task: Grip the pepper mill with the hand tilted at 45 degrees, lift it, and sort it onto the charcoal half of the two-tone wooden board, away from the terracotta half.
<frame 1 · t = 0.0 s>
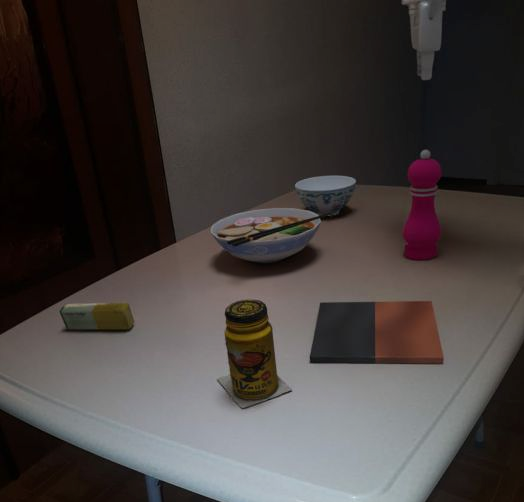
hand: (424, 77, 104), 31 cm above the table, tool pointing down, fingers open, 8 cm apart
ramen bowl: (268, 258, 118), on the table
sorting board: (374, 332, 84), on the table
pepper mill: (420, 255, 111), on the table
medication box: (100, 329, 95), on the table
condiment: (253, 386, 75), on the table
chinaware: (326, 214, 142), on the table
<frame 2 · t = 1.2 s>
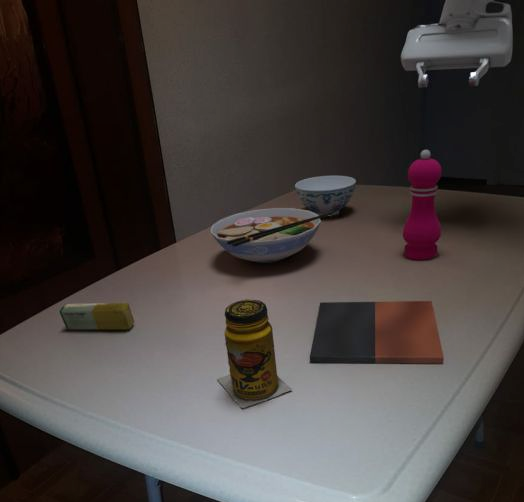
hand: (447, 84, 105), 29 cm above the table, tool tilted 45°, fingers open, 8 cm apart
nothing on the table moved.
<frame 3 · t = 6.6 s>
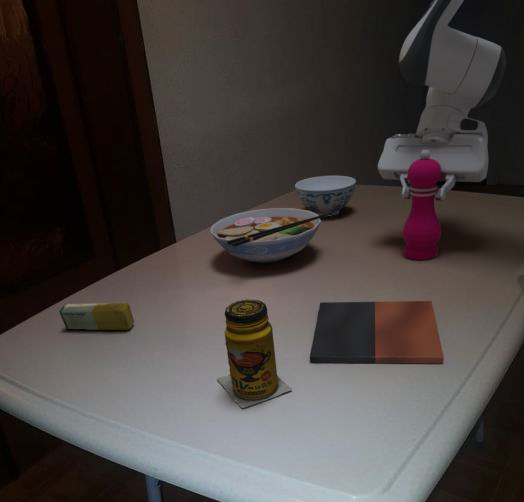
hand: (422, 198, 105), 11 cm above the table, tool tilted 45°, fingers closed on pepper mill, 5 cm apart
pepper mill: (420, 255, 111), on the table, touching gripper
everything else where it was.
when the fingers open (12 cm above the table, at t = 18.3 s): pepper mill stays where it is, resting on sorting board.
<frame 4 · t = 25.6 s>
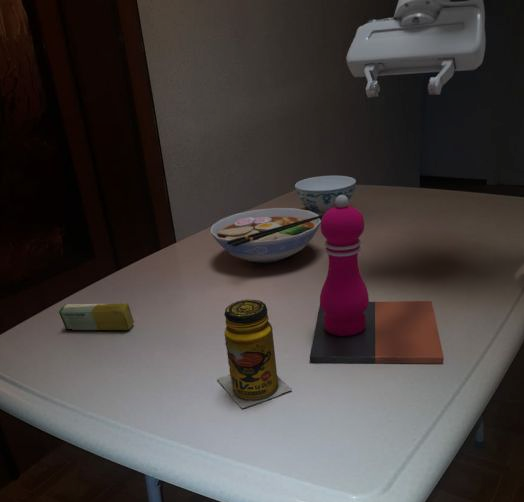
hand: (401, 93, 82), 31 cm above the table, tool tilted 45°, fingers open, 8 cm apart
pepper mill: (344, 328, 85), point 1 cm above the table, touching sorting board
everything else where it was.
at the end: pepper mill inside the target area on the sorting board (1.0 cm from its centre), point 0.8 cm above the sorting board's base; pepper mill tilted 0°; the gripper is holding nothing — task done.
